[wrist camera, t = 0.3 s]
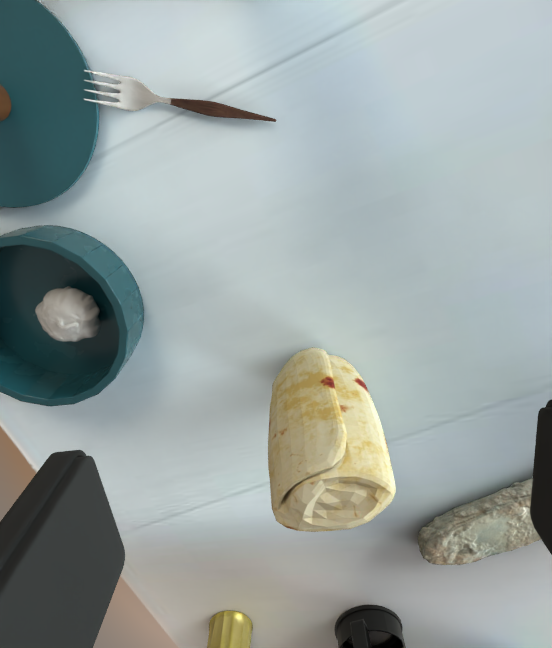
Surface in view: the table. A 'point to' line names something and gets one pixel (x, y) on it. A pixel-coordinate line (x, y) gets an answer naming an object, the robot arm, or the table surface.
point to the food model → (325, 446)
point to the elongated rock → (481, 528)
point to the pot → (34, 343)
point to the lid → (42, 106)
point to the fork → (162, 99)
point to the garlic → (68, 314)
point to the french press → (368, 627)
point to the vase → (229, 630)
